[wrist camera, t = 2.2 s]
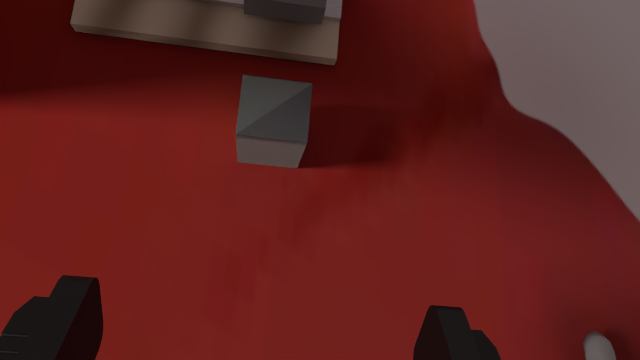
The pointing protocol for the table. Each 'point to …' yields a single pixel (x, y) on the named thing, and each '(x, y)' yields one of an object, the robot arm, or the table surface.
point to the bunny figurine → (598, 347)
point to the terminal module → (273, 121)
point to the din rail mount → (221, 25)
